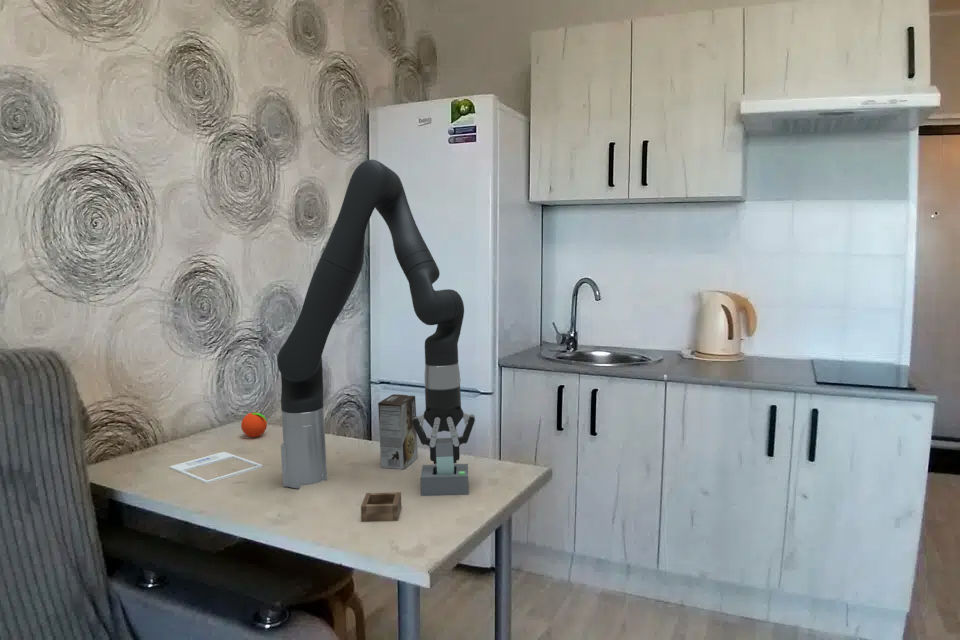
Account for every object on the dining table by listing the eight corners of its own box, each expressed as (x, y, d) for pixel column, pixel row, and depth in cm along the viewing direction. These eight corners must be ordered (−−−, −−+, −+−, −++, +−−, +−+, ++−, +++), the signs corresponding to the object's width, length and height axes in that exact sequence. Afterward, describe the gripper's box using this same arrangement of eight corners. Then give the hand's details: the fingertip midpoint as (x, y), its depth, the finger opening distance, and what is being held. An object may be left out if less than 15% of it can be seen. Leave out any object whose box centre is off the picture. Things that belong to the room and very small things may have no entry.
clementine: (275, 434, 198) (274, 410, 197) (260, 441, 191) (258, 416, 190) (252, 432, 200) (251, 408, 200) (236, 439, 194) (234, 414, 193)
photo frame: (224, 450, 181) (262, 464, 170) (224, 455, 181) (262, 468, 170) (168, 465, 170) (206, 480, 159) (169, 470, 170) (206, 485, 159)
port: (420, 500, 146) (420, 475, 145) (423, 486, 154) (422, 463, 153) (468, 499, 146) (467, 474, 145) (468, 485, 154) (467, 461, 153)
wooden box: (361, 526, 133) (360, 506, 133) (367, 512, 140) (366, 493, 140) (398, 525, 133) (397, 505, 133) (401, 511, 140) (400, 492, 140)
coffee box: (395, 456, 176) (392, 393, 174) (418, 457, 174) (416, 394, 172) (379, 467, 167) (376, 402, 165) (404, 469, 165) (401, 403, 163)
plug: (437, 479, 148) (435, 443, 147) (437, 474, 151) (436, 438, 150) (454, 479, 148) (452, 442, 147) (454, 473, 151) (452, 437, 150)
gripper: (407, 389, 143) (411, 469, 145) (476, 386, 144) (478, 467, 146) (410, 381, 151) (413, 458, 153) (475, 379, 151) (477, 455, 153)
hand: (445, 462), depth 149 cm, fingers closed on plug, 3 cm apart
